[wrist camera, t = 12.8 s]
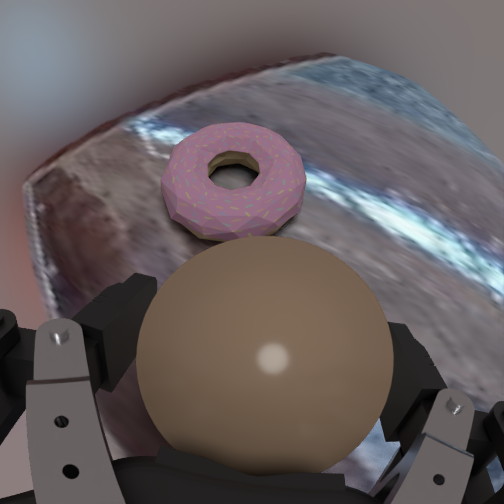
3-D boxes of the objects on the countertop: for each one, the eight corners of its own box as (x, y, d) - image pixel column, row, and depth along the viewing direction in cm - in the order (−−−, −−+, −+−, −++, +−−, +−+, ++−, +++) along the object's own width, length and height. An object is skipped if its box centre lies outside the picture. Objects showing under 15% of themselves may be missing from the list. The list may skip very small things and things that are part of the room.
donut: (195, 276, 29) (188, 254, 25) (150, 169, 35) (140, 141, 30) (328, 217, 33) (341, 190, 28) (262, 130, 38) (265, 101, 34)
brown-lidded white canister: (256, 304, 17) (273, 195, 8) (326, 377, 15) (433, 352, 6) (177, 370, 15) (90, 338, 6) (249, 447, 13) (260, 528, 4)
